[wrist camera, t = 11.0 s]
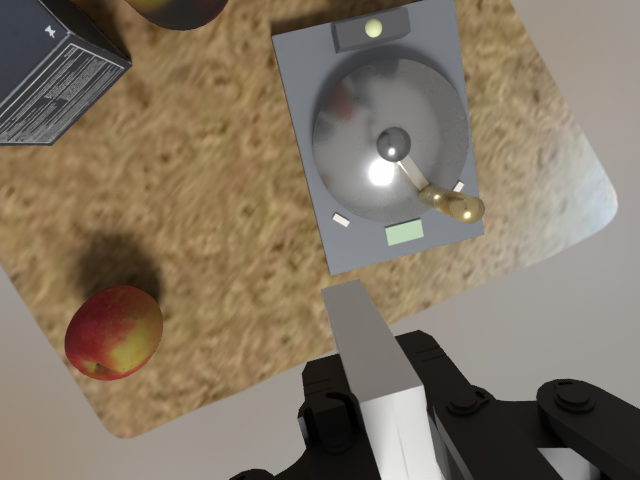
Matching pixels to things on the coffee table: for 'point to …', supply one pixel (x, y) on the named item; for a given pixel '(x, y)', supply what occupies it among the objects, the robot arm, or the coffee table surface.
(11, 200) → the coffee table surface
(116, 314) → the apple
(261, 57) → the coffee table surface
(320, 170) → the crank wheel
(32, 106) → the small box
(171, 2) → the mug
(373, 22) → the record turntable
